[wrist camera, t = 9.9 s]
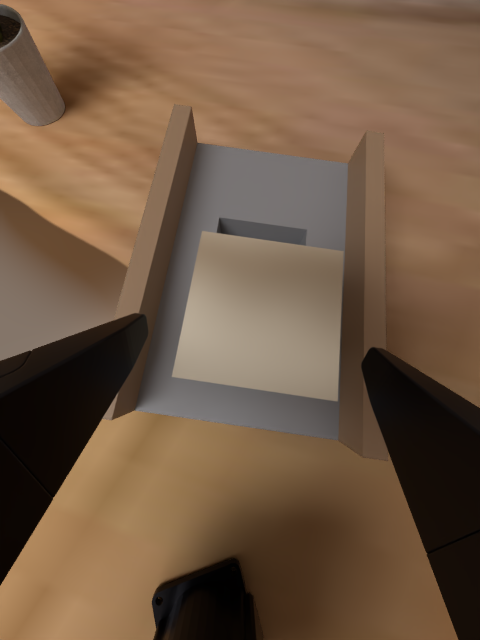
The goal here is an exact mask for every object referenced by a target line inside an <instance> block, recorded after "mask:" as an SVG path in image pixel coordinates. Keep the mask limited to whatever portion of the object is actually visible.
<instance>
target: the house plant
mask: <svg viewBox="0 0 480 640" xmlns="http://www.w3.org/2000/svg"><path fill="white" fill-rule="evenodd" d="M0 98H1V99H2V100H3V101H4V102H5V103H6V104H7V105H8V106H9V107H10V108H11V109H12V110H13V111H14V112H15V113H16V114H17V115H18V116H19V117H20V118H22V119H23V120H24V121H25V122H26V123H28V124H30V125H34V126H43V125H47V124H50V123H52V122H54V121H56V120H58V119H59V118H60V117H61V116H62V114H63V113H64V110H65V104H64V101H63V99H62V97H61V95H60V93H59V91H58V89H57V87H56V85H55V83H54V81H53V79H52V77H51V75H50V73H49V71H48V69H47V67H46V65H45V63H44V61H43V59H42V57H41V55H40V53H39V51H38V49H37V47H36V45H35V43H34V41H33V39H32V37H31V35H30V33H29V31H28V29H27V27H26V25H25V23H24V20H23V19H22V17H21V16H20V14H19V13H18V12H17V11H15V10H14V9H13V8H11V7H8V6H6V5H2V4H0Z"/></svg>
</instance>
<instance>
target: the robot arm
mask: <svg viewBox="0 0 480 640" xmlns="http://www.w3.org/2000/svg"><path fill="white" fill-rule="evenodd" d="M147 337H148V324H147V317H146V315H145V314H140V313H133V314H130V315H127V316H124V317H122V318H119V319H116V320H113V321H111V322H108V323H105V324H103V325H99V326H97V327H94V328H91V329H88V330H86V331H83V332H80V333H78V334H75V335H72V336H69V337H66V338H63V339H61V340H58V341H55V342H52V343H50V344H47V345H44V346H41V347H38V348H36V349H33V350H32V351H27V352H24V353H22V354H19V355H16V356H13V357H10V358H7V359H5V360H2V361H0V585H1V584H2V582H3V580H4V579H5V577H6V575H7V574H8V572H9V571H10V569H11V567H12V566H13V564H14V562H15V561H16V559H17V557H18V556H19V554H20V553H21V551H22V549H23V548H24V546H25V544H26V543H27V541H28V540H29V538H30V536H31V535H32V533H33V531H34V530H35V528H36V526H37V525H38V523H39V522H40V520H41V518H42V517H43V515H44V513H45V512H46V510H47V508H48V507H49V505H50V504H51V502H52V500H53V497H55V495H56V493H57V492H58V490H59V488H60V487H61V485H62V484H63V482H64V480H65V479H66V477H67V475H68V474H69V472H70V471H71V469H72V467H73V466H74V464H75V462H76V461H77V459H78V457H79V456H80V454H81V453H82V451H83V449H84V448H85V446H86V444H87V443H88V441H89V439H90V438H91V436H92V435H93V433H94V431H95V430H96V428H97V426H98V425H99V423H100V422H101V420H102V418H103V417H104V415H105V413H106V412H107V410H108V408H109V407H110V405H111V404H112V402H113V400H114V399H115V397H116V395H117V394H118V392H119V390H120V389H121V387H122V386H123V384H124V382H125V381H126V379H127V377H128V376H129V374H130V372H131V371H132V369H133V367H134V365H135V363H136V361H137V359H138V357H139V354H140V352H141V350H142V348H143V346H144V344H145V341H146V339H147ZM361 369H362V373H363V377H364V381H365V385H366V389H367V393H368V397H369V400H370V404H371V406H372V409H373V412H374V415H375V417H376V420H377V423H378V425H379V428H380V431H381V433H382V436H383V439H384V441H385V444H386V447H387V449H388V452H389V455H390V457H391V460H392V463H393V465H394V468H395V471H396V473H397V476H398V479H399V481H400V484H401V487H402V489H403V492H404V495H405V497H406V500H407V503H408V505H409V508H410V511H411V513H412V516H413V519H414V521H415V524H416V527H417V529H418V532H419V535H420V537H421V540H422V543H423V546H424V548H425V551H426V553H428V554H427V557H428V559H429V562H430V565H431V567H432V570H433V573H434V575H435V578H436V581H437V583H438V586H439V589H440V591H441V594H442V597H443V599H444V602H445V605H446V608H447V610H448V613H449V616H450V618H451V621H452V624H453V626H454V629H455V632H456V634H457V637H458V640H480V408H479V407H477V406H475V405H474V404H472V403H471V402H469V401H467V400H466V399H464V398H463V397H461V396H459V395H458V394H456V393H454V392H453V391H451V390H450V389H448V388H446V387H445V386H443V385H441V384H440V383H438V382H437V381H435V380H433V379H432V378H430V377H428V376H427V375H425V374H424V373H422V372H420V371H419V370H417V369H416V368H414V367H412V366H411V365H409V364H407V363H406V362H404V361H403V360H401V359H399V358H398V357H396V356H394V355H393V354H391V353H390V352H388V351H386V350H385V349H383V348H377V347H371V348H370V349H369V350H368V352H367V354H366V355H365V357H364V359H363V361H362V363H361ZM232 567H235V568H236V570H234V571H233V570H231V568H232ZM158 597H162V599H161V600H160V599H158ZM152 606H153V612H154V618H155V624H156V632H155V636H154V639H153V640H264V637H263V633H262V629H261V625H260V621H259V617H258V613H257V609H256V605H255V601H254V597H253V595H252V594H251V593H250V592H248V593H247V590H246V586H245V582H244V578H243V574H242V570H241V566H240V563H239V561H238V560H237V559H235V558H233V559H230V560H227V561H224V562H222V563H219V564H217V565H214V566H212V567H209V568H207V569H204V570H202V571H199V572H196V573H194V574H191V575H189V576H186V577H184V578H181V579H179V580H176V581H174V582H171V583H168V584H166V585H163V586H161V587H159V588H157V589H156V591H155V593H154V596H153V599H152Z"/></svg>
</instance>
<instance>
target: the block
mask: <svg viewBox="0 0 480 640" xmlns="http://www.w3.org/2000/svg"><path fill="white" fill-rule="evenodd" d="M343 254H344V251H338V250H331V249H324V248H318V247H311V246H304V245H297V244H290V243H283V242H276V241H269V240H262V239H255V238H248V237H241V236H234V235H227V234H220V233H213V232H206V231H202V234H201V238H200V243H199V248H198V253H197V258H196V262H195V267H194V272H193V277H192V282H191V286H190V291H189V296H188V301H187V306H186V310H185V315H184V320H183V325H182V330H181V334H180V339H179V344H178V349H177V354H176V358H175V363H174V368H173V373H172V377H176V378H183V379H189V380H196V381H203V382H210V383H216V384H223V385H230V386H236V387H243V388H250V389H257V390H263V391H270V392H277V393H284V394H290V395H297V396H304V397H311V398H317V399H324V400H331V401H338V380H339V354H340V329H341V304H342V279H343Z"/></svg>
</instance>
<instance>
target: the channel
mask: <svg viewBox="0 0 480 640" xmlns="http://www.w3.org/2000/svg"><path fill="white" fill-rule="evenodd" d="M202 231H206V232H213V233H220V234H227V235H234V236H241V237H248V238H255V239H262V240H269V241H276V242H283V243H290V244H297V245H304V246H311V247H318V248H324V249H331V250H338V251H344V254H343V279H342V304H341V329H340V354H339V380H338V401H331V400H324V399H317V398H311V397H304V396H297V395H290V394H284V393H277V392H270V391H263V390H257V389H250V388H243V387H236V386H230V385H223V384H216V383H210V382H203V381H196V380H189V379H183V378H176V377H172V373H173V368H174V363H175V358H176V354H177V349H178V344H179V339H180V334H181V330H182V325H183V320H184V315H185V310H186V306H187V301H188V296H189V291H190V286H191V282H192V277H193V272H194V267H195V262H196V258H197V253H198V248H199V243H200V238H201V234H202ZM133 313H140V314H145V315H146V317H147V324H148V337H147V339H146V341H145V344H144V346H143V348H142V350H141V352H140V354H139V357H138V359H137V361H136V363H135V365H134V367H133V369H132V371H131V372H130V374H129V376H128V377H127V379H126V381H125V382H124V384H123V386H122V387H121V389H120V390H119V392H118V394H117V395H116V397H115V399H114V400H113V402H112V404H111V405H110V407H109V408H108V410H107V412H106V413H105V415H104V417H103V418H102V419H107V420H113V419H115V418H118V417H120V416H123V415H125V414H127V413H130V412H132V411H134V410H135V411H142V412H149V413H156V414H162V415H169V416H176V417H183V418H190V419H197V420H203V421H210V422H217V423H224V424H231V425H237V426H244V427H251V428H258V429H265V430H271V431H278V432H285V433H292V434H299V435H306V436H312V437H319V438H326V439H333V440H339V441H340V442H341V443H343V444H344V445H346V446H347V447H349V448H350V449H351V450H353V451H354V452H356V453H357V454H359V455H360V456H362V457H365V458H372V459H378V460H385V461H388V449H387V447H386V444H385V441H384V439H383V436H382V433H381V431H380V428H379V425H378V423H377V420H376V417H375V415H374V412H373V409H372V406H371V404H370V400H369V397H368V393H367V389H366V385H365V381H364V377H363V373H362V369H361V363H362V361H363V359H364V357H365V355H366V354H367V352H368V350H369V349H370V348H371V347H377V348H383V349H385V350H386V351H387V349H386V263H385V176H384V133H380V132H373V131H366V132H365V134H364V136H363V138H362V139H361V141H360V143H359V145H358V147H357V148H356V150H355V152H354V154H353V156H352V157H351V159H350V161H349V163H348V164H347V163H340V162H332V161H325V160H318V159H311V158H303V157H296V156H289V155H282V154H274V153H267V152H260V151H253V150H245V149H238V148H231V147H224V146H217V145H209V144H202V143H197V137H196V131H195V125H194V119H193V113H192V107H191V106H183V105H176V104H174V106H173V110H172V114H171V117H170V121H169V124H168V128H167V131H166V135H165V138H164V142H163V146H162V149H161V153H160V156H159V160H158V163H157V167H156V171H155V174H154V178H153V181H152V185H151V188H150V192H149V196H148V199H147V203H146V206H145V210H144V213H143V217H142V221H141V224H140V228H139V231H138V235H137V238H136V242H135V246H134V249H133V253H132V256H131V260H130V263H129V267H128V270H127V274H126V278H125V282H124V285H123V288H122V292H121V296H120V299H119V303H118V307H117V310H116V313H115V317H114V320H116V319H119V318H122V317H124V316H127V315H130V314H133Z"/></svg>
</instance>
